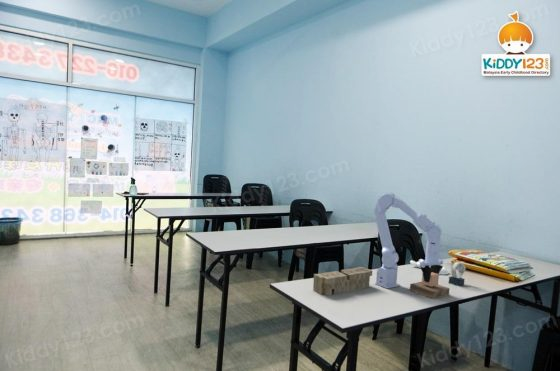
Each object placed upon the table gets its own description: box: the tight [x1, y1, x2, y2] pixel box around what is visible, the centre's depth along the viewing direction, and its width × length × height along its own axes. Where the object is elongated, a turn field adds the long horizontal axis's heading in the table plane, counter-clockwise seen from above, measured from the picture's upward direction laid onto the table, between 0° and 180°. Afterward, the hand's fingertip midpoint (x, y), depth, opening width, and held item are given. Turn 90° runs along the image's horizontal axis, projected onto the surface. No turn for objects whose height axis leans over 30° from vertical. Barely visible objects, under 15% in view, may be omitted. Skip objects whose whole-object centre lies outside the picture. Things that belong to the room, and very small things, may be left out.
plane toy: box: [409, 258, 449, 275], centre depth 215 cm, size 10×20×6 cm, turn 33°
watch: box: [448, 261, 467, 287], centre depth 191 cm, size 6×8×11 cm
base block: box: [409, 281, 450, 300], centre depth 176 cm, size 12×12×3 cm
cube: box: [421, 272, 440, 287], centre depth 175 cm, size 5×5×5 cm
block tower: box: [312, 266, 373, 296], centre depth 174 cm, size 8×8×29 cm
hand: (430, 281), depth 175 cm, fingers closed on cube, 5 cm apart
